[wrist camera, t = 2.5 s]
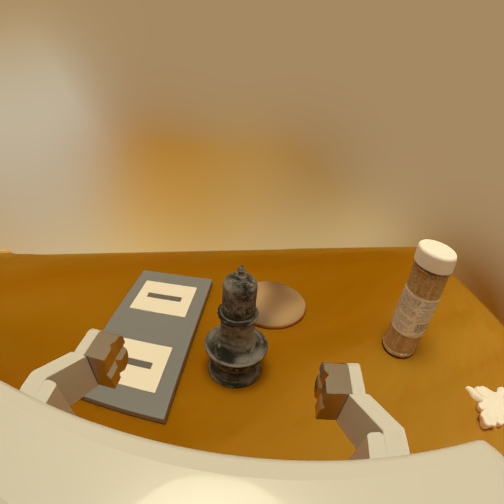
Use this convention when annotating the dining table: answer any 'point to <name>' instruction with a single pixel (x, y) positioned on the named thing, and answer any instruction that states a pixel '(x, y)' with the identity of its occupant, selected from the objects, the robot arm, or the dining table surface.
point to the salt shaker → (236, 334)
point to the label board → (153, 343)
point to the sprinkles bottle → (419, 297)
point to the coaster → (278, 305)
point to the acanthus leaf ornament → (488, 405)
